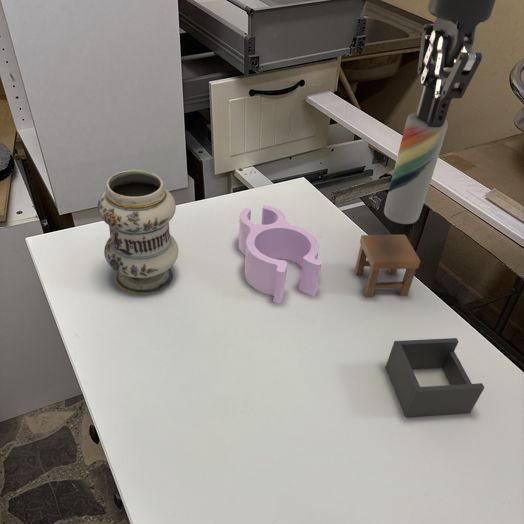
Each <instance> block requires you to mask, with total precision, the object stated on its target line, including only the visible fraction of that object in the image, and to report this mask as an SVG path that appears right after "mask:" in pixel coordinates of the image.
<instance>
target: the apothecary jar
mask: <svg viewBox="0 0 524 524" xmlns="http://www.w3.org/2000/svg"><path fill="white" fill-rule="evenodd" d="M162 179H163V178H161V177H160V176H159V175H157V174H156V173H153V172H152V171H148V170H143V169H128V170H123V171H120V172H116V173H114V174H113V175H111V176H110V177H109V178H108V179H107V181H106V183H105V189H106V190H105V191H104V192H102V194H100V197H99V198H98V202H97V212H98V214H99V216H100V218H101V219H102V221H103V222H104V223H105V224H106V225H108V228H109V229H108V230H109V238H108V239H107V240H106V242H105V245H104V249H103V250H104V251H103V254H104V258H105V261H106V263H107V264H108V266H109V267H110V268H111V269H112V270H114V271H115V272H116V274H115V283H116V285H117V286H118V287H119V288H120V289H122V290H123V291H125V292H127V293H129V294H130V293H131V294H136V295H148V294H155V293H157V292H160V291H161V289H162V288H163V287H167V286H169V285H170V284H171V283H172V280H173V271H172V269H171V268H172V267H173V265H174V264H176V261H177V260H178V256H179V245H178V242H177V241H176V239H175V237H174V236H173V235H172V234H171V233H170V221H172V219H173V218H174V216H175V213H176V209H177V205H176V201H175V198H174V196H173V194H172V193H171V192H170V191H169V190H168V189H166V188H165V184H164V181H163V180H162Z"/></svg>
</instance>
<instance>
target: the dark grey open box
mask: <svg viewBox="0 0 524 524" xmlns="http://www.w3.org/2000/svg"><path fill="white" fill-rule="evenodd" d="M458 344H459V340H458V338H457V337H450V338H430V339H408V340H406V339H405V340H394V341H393V344H392V348H391V350H390V352H389V355H388V358H387V362H386V364H385V370H386V374H387V376H388V378H389V380H390V383H391V385H392V388H393V390H394V392H395V395H396V397H397V400H398V402H399V405H400V407H401V409H402V412H403V415H404V418H406V419H408V418H410V419H411V418H421V417H422V418H423V417H435V416H436V417H437V416H450V415H452V416H453V415H466V414H471V413H472V411H473V410H474V407H475V406H476V404H477V402H478V400H479V399H480V397H481V395H482V393H483V392H484V390H485V386H484V383H482V382H479V383H478V382H477V383H472V381H471V379H470V377H469V376H468V374H467V372H466V370H465V369H464V366H463V365H462V363H461V361H460V359H459V357H458V356H457V353H456V352H455V350H456V348H457V346H458ZM429 369H442V371H443V373H444V375H445V377H446V379H447V381H448V383H449V384H445V385H432V386H431V385H430V386H429V385H427V386H420V383H419V381H418V379H417V377H416V374H415V372H414V371H415V370H429Z"/></svg>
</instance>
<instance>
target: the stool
mask: <svg viewBox="0 0 524 524" xmlns="http://www.w3.org/2000/svg"><path fill="white" fill-rule="evenodd" d="M359 244H360V247H359V250H358V255H357V258H356V263H355V268H354V274H355V275H356V276H363V274H364V270H365V267H370V268H369V272H368V276H367V280H366V283H365V287H364V291H363V295H364V297H365V298H373V296H374V293H375V290H381V289H382V290H384V289H399V290H398V294H399V296H400V297H408V295H409V292H410V288H411V285H412V282H413V280H414V278H415V274H416V271H417V269H419V267H420V264H421V260H420V258H419V256H418V255H417V253H416V251H415V249H414V247H413V246H412V244H411V242H410V240H409V239H408V236H407V235H406V234H362V235H360V240H359ZM380 270H387V272H388V274H389V275H396V274H397V271H398V270H405V271H404V274H403V277H402V280H401V281H386V282H385V281H384V282H383V281H382V282H381V281H380V282H379V281H378V278H379V274H380ZM377 281H378V282H377Z"/></svg>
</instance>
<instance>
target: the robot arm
mask: <svg viewBox="0 0 524 524" xmlns="http://www.w3.org/2000/svg"><path fill="white" fill-rule="evenodd" d="M496 1H497V0H429V1H428V6H427V11H428V12H429V14H431V15H432V16H433V17H435V20H434V23H424V24H423V27H422V32H421V40H420V47H419V57H418V64H417V74H418V75H421V76H420V84H421V87H420V90H419V91H420V92H419V96H418V99H417V103H416V107H415V110H416V109H417V106H418V102H419V98H420V94H421V91H422V87H423V84H425V83H426V82H427V80H429V79H437V84H436V89H435V96H434V98H433V101H432V105H431V108H430V112H429V116H428V119H427V124H428V125H429V126H430V127H441V126H443V124H444V122H445V119H446V118H447V115H448V112H449V108H450V106H451V101H452V100H453V99H462V98H463V96H464V95H465V93H466V91H467V89H468V87H469V85H470V83H471V81H472V80H473V78H474V75H475V74H476V71H477V69H478V68H479V66H480V64H481V62H482V60H483V54H482V53H481V52H475V51H474V48H473V46H474V42H475V35H476V28H477V26H478V25H479V24H481V23H485V22H486V21H488V20H489V19H490V18H491V16H492V13H493V9H494V6H495V4H496ZM448 69H451V70H448ZM445 80H446V81H445ZM444 82H446V83H445V85H444ZM443 86H444V87H443Z"/></svg>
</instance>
